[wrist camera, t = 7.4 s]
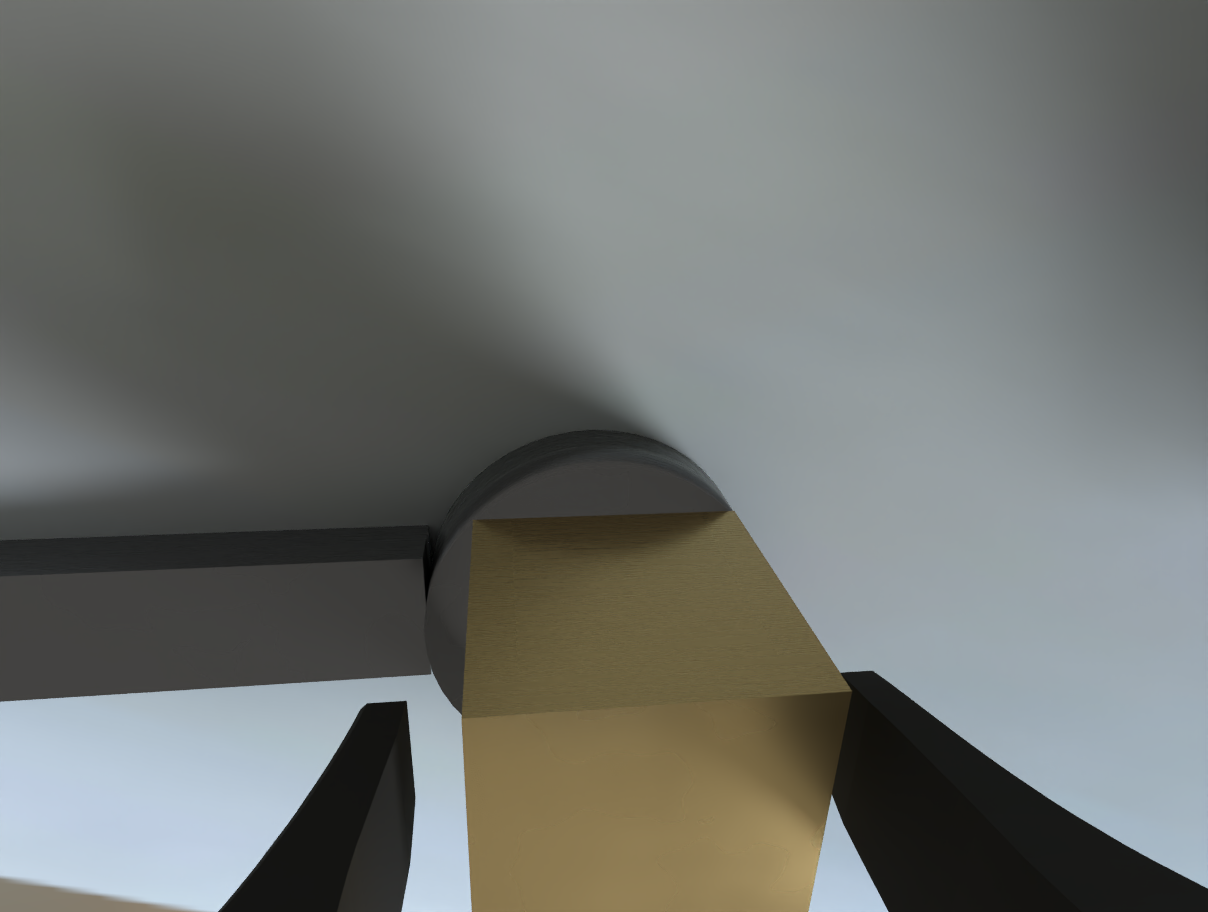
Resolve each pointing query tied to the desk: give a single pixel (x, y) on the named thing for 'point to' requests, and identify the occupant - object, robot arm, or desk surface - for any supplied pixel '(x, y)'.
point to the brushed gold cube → (642, 719)
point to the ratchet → (302, 584)
